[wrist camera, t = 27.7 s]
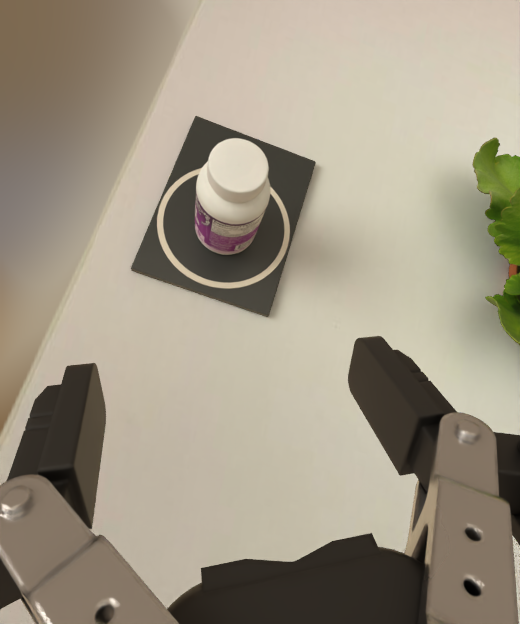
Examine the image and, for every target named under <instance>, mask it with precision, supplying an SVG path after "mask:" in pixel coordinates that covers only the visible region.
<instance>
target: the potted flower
mask: <svg viewBox="0 0 520 624" xmlns="http://www.w3.org/2000/svg"><path fill="white" fill-rule="evenodd" d="M499 145H500V143H499V140H498V139H497V138H493V139H491V140H489V141H487V142H485V143H484V144H483V145H482V146H481V148H480V150H479V152H477V153H476V154H475V157H474V160H473V167H474V168H475V170H474V172H475V173H476V176H477V181H478V185H477V189H478V190H479V191H481V192H482V193H484V194H490V196H491V203H490V209H488V210H486V211H485V214H486V216H487V217H488V218H489V219H491V220H495V222H494V223H492V224H490V225H489V226H488V233H489V234H490V235H491V236H493V237H495V239H494V242H495V244H496V245H497V246H499V247H500V249H499V253H500V254H501V255H504V257H505V258H507V259H508V261H509V264H510V267H509V279H507V280H506V284H505V285H504V288H505V289H504V291H503V296H502V295H499V294H496V295H494V297H492V296H490V297H489V296H487V297H485V298H486V299H487V300H488V301H489V302H490V303H492V304H493V305H495V306H497V307H498V309H499V310H498V314H499V318H500V323H501V325H502V327H503V328H504V330H505V331H506V333H507V334H508V335H509V336H510V337H511V338H512V339H513V340H514V341H515V342H516V343H518V344H519V345H520V157H518V156H516V155H515V156H513V157H511V156H510V155H509V154H505V155H500V156H497V157H496V154H497V152H498V147H499Z"/></svg>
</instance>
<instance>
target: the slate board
mask: <svg viewBox="0 0 520 624" xmlns="http://www.w3.org/2000/svg"><path fill="white" fill-rule="evenodd" d="M232 138H240V139H244V140H247V141H250V142H252V143H253V144H255V145H257V146H258V147H259V148H260V149H261V150H262V151H263V153H264V154H265V156H266V158H267V161H268V166H269V171H268V179H269V183H270V198H269V202H268V205H267V207H266V210H265V212H264V215H263V217H262V220H261V223H260V225H259V227H258V230H257V233H256V235H255V237H254V239H253V241H252V242H251V244H250V245H249V246H248V247H247V248H246V249H245V250H243V251H241V252H239V253H236V254H231V255H222V254H218V253H215V252H213V251H211V250H209V249H208V248H206V247H205V246H204V245H203V244H202V242H201V241H200V240H199V238H198V236H197V233H196V230H195V203H196V183H197V178H198V175H199V172H200V170H201V169H202V167H203V166H204V165H205V164H206V163H207V162H208V159H209V155H210V153H211V151H212V150H213V148H214V147H215V146H216V145H217V144H218V143H220V142H222V141H224V140H227V139H232ZM315 163H316V162H315V161H312V160H310V159H307V158H305V157H302V156H299V155H297V154H294V153H292V152H289V151H286V150H284V149H281V148H278V147H276V146H273V145H271V144H268V143H265V142H263V141H260V140H258V139H255V138H252V137H250V136H247V135H244V134H242V133H239V132H237V131H234V130H231V129H229V128H226V127H224V126H221V125H218V124H216V123H213V122H210V121H208V120H205V119H203V118H200V117H197V116H195V119H194V121H193V123H192V126H191V128H190V130H189V133H188V135H187V137H186V140H185V142H184V144H183V147H182V149H181V152H180V154H179V156H178V159H177V161H176V163H175V166H174V168H173V170H172V173H171V175H170V177H169V180H168V182H167V185H166V187H165V189H164V192H163V194H162V196H161V199H160V201H159V203H158V206H157V208H156V210H155V213H154V215H153V218H152V220H151V222H150V225H149V227H148V229H147V232H146V234H145V236H144V239H143V241H142V243H141V246H140V248H139V250H138V253H137V255H136V258H135V260H134V262H133V265H132V267H131V269H132V271H135V272H137V273H140V274H143V275H146V276H149V277H152V278H155V279H158V280H161V281H164V282H167V283H170V284H173V285H175V286H178V287H181V288H184V289H187V290H190V291H193V292H196V293H199V294H202V295H205V296H208V297H211V298H213V299H216V300H219V301H222V302H225V303H228V304H231V305H234V306H237V307H240V308H243V309H246V310H249V311H251V312H254V313H257V314H260V315H263V316H266V317H268V315H269V313H270V310H271V306H272V303H273V300H274V297H275V293H276V290H277V287H278V283H279V280H280V277H281V274H282V270H283V267H284V264H285V261H286V257H287V254H288V251H289V248H290V244H291V241H292V238H293V234H294V231H295V228H296V225H297V221H298V218H299V215H300V212H301V208H302V205H303V202H304V199H305V195H306V192H307V189H308V185H309V182H310V179H311V176H312V172H313V169H314V166H315Z"/></svg>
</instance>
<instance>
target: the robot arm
mask: <svg viewBox="0 0 520 624" xmlns="http://www.w3.org/2000/svg"><path fill="white" fill-rule="evenodd" d="M348 383H349V388H350V391H351V393H352V395H353V397H354V399H355V400H356V402H357V404H358V405H359V407H360V409H361V410H362V412H363V414H364V415H365V417H366V419H367V421H368V422H369V424H370V426H371V427H372V429H373V431H374V432H375V434H376V436H377V438H378V439H379V441H380V443H381V444H382V446H383V448H384V449H385V451H386V453H387V454H388V456H389V458H390V460H391V461H392V463H393V465H394V466H395V468H396V470H397V471H398V473H399V475H406V474H412V473H415V475H416V476H417V478H418V481H417V484H416V488H415V495H414V502H413V508H412V515H411V521H410V528H409V535H408V541H407V545H406V549H405V553H401V552H398V551H395V550H392V549H387V548H383V547H378V546H377V544H376V542H375V540H374V537H373V535H372V533H370V534H365V535H360V536H356V537H351V538H346V539H341V540H336V541H332V542H330V543H328V544H326V545H325V546H323V547H321V548H319V549H317V550H315V551H313V552H312V553H310V554H308V555H306V556H304V557H302V558H301V559H299V560H297V561H294V562H282V561H267V560H253V559H244V560H239V561H234V562H229V563H224V564H219V565H214V566H209V567H205V568H201V575H202V583H200V584H198V585H196V586H194V587H193V588H191V589H190V590H188V591H187V592H185V593H184V594H182V595H181V596H180V597H179V598H178V599H177V600H176V601H174V602H173V603H172V604H171V605H170V607H169V608H168V609H166V608H165V606H164V605H163V604H162V603H161V602H160V601H159V599H158V598H157V597H156V596H155V595H154V594H153V592H152V591H151V590H150V589H149V588H148V586H147V585H146V584H145V583H144V582H143V581H142V579H141V578H140V577H139V576H138V575H137V574H136V572H135V571H134V570H133V569H132V568H131V566H130V565H129V564H128V563H127V562H126V561H125V559H124V558H123V557H122V556H121V555H120V554H119V552H118V551H117V550H116V549H115V548H114V546H113V545H112V544H111V543H110V542H109V541H108V540H107V539H106V538H105V537H104V536H102V535H99V536H95V535H94V534H93V533H92V532H91V531H90V529H92V523H93V516H94V508H95V501H96V493H97V485H98V478H99V470H100V462H101V455H102V447H103V440H104V432H105V424H106V409H105V402H104V397H103V392H102V387H101V383H100V378H99V373H98V369H97V365H96V364H95V363H92V364H82V365H71V366H67V367H66V370H65V373H64V377H63V380H62V384H61V385H53V386H47V387H46V388H45V390H44V391H43V392H42V393H41V394H40V395H39V396H38V397H37V398H36V399H35V401H34V404H33V407H32V410H31V413H30V418H28V421H27V424H26V427H25V429H26V430H25V431H24V433H23V436H22V439H21V442H20V444H19V447H18V450H17V453H16V456H15V459H14V462H13V465H12V468H11V470H10V473H9V476H8V479H7V481H6V482H5V483H3V484H2V485H0V609H1V608H3V607H5V606H7V605H9V604H11V603H12V602H14V601H16V600H18V599H21V601H22V602H23V604H24V606H25V607H26V609H27V611H28V612H29V614H30V615H31V617H32V619H33V620H34V622H35V624H519V622H518V608H517V594H516V581H515V567H514V553H513V540H512V535H513V536H514V538H515V539H516V541H517V542H518V543H519V545H520V435H512V434H504V433H496V432H493V431H492V430H491V429H490V427H489V426H488V425H486V424H485V423H484V422H483V421H481V420H479V419H478V418H476V417H474V416H471V415H468V414H465V413H457V412H456V410H455V409H454V408H453V407H452V406H451V405H450V403H449V402H448V401H447V400H446V399H445V398H444V396H443V395H442V394H441V393H440V392H439V391H438V389H437V388H436V387H435V386H434V385H433V384H432V382H431V381H428V378H427V377H426V375H425V374H424V373H423V372H421V370H420V368H419V367H418V366H417V365H416V364H415V363H414V361H413V360H412V359H411V358H409V357H408V356H406V355H405V354H403V353H402V352H400V351H399V350H392V348H391V347H390V346H389V345H388V343H387V342H386V341H385V340H384V339H383V338H382V337H381V336H375V337H365V338H358V339H356V341H355V344H354V349H353V354H352V359H351V364H350V369H349V374H348Z"/></svg>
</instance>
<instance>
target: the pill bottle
mask: <svg viewBox="0 0 520 624" xmlns="http://www.w3.org/2000/svg"><path fill="white" fill-rule="evenodd" d="M268 171H269V166H268V161H267V158H266V156H265V154H264V153H263V151H262V150H261V149H260V148H259V147H258V146H257V145H255V144H253V143H252V142H250V141H247V140H244V139H240V138H232V139H227V140H224V141H222V142H220V143H218V144H217V145H216V146H215V147H214V148H213V150H212V151H211V153H210V155H209V159H208V162H207V163H206V164H205V165H204V166H203V167H202V169H201V170H200V172H199V175H198V178H197V183H196V203H195V230H196V233H197V236H198V238H199V240H200V241H201V242H202V244H203V245H204V246H205V247H206V248H208V249H209V250H211V251H213V252H215V253H218V254H222V255H231V254H236V253H239V252H241V251H243V250H245V249H246V248H247V247H248V246H249V245H250V244H251V242H252V241H253V239H254V237H255V235H256V233H257V230H258V227H259V225H260V223H261V220H262V217H263V215H264V212H265V210H266V207H267V205H268V202H269V198H270V183H269V179H268Z"/></svg>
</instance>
